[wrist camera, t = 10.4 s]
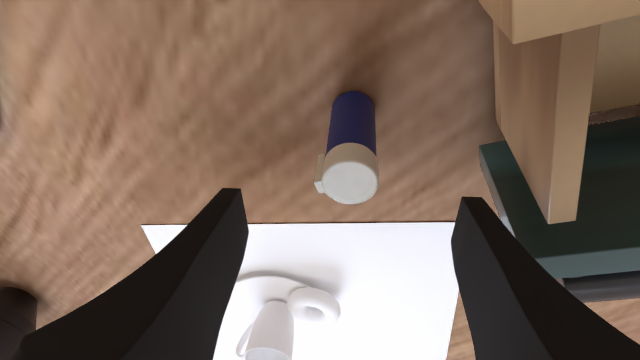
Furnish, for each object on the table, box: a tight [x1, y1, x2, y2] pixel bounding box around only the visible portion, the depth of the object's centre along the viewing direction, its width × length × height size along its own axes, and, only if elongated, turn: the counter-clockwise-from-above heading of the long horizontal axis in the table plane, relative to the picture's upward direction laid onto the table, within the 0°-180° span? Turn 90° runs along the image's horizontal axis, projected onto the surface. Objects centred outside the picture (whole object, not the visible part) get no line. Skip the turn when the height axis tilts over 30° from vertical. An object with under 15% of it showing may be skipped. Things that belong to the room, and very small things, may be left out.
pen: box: [314, 91, 379, 204], centre depth 17 cm, size 2×2×6 cm
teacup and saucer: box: [225, 275, 342, 360], centre depth 28 cm, size 9×8×4 cm
